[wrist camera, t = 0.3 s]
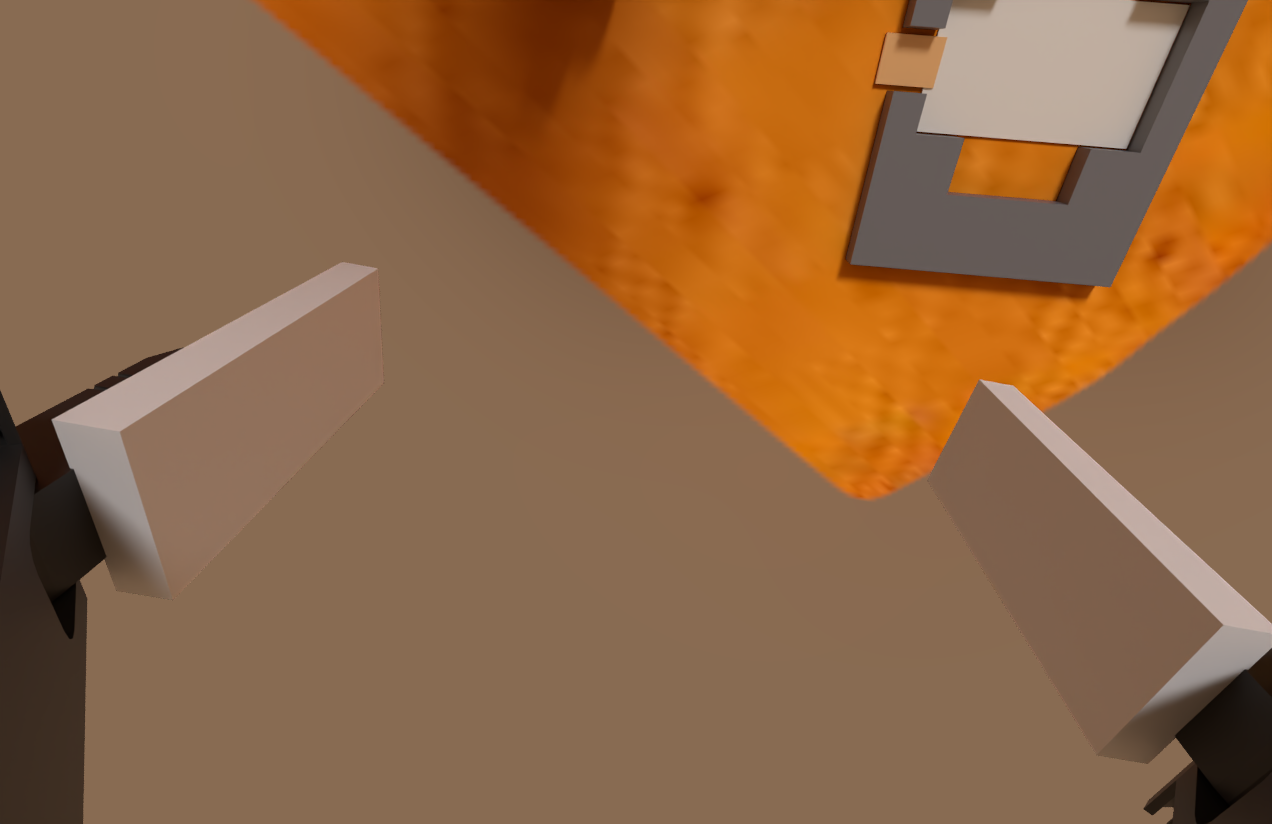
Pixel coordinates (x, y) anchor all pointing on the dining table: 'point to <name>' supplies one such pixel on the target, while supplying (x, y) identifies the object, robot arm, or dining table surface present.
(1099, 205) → the chassis
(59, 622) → the robot arm
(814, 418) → the dining table surface
